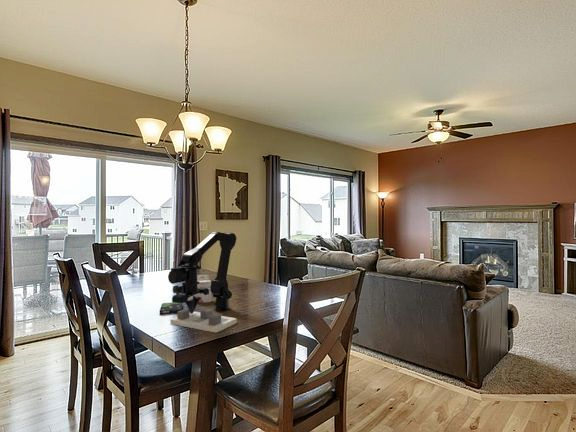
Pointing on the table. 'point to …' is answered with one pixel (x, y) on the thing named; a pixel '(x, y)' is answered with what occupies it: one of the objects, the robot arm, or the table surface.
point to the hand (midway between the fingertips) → (191, 313)
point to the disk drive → (170, 308)
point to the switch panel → (203, 322)
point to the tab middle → (206, 313)
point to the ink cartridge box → (204, 284)
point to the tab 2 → (215, 319)
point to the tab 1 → (183, 314)
